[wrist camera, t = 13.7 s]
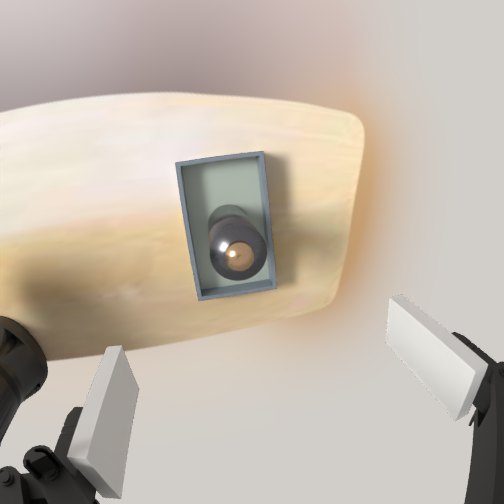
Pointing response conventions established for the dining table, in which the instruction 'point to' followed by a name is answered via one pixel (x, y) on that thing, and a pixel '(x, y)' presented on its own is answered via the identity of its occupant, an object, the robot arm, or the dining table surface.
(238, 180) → the trough
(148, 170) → the dining table surface
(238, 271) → the cell
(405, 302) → the robot arm
